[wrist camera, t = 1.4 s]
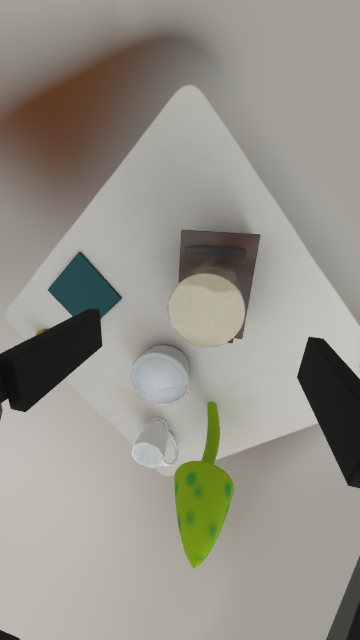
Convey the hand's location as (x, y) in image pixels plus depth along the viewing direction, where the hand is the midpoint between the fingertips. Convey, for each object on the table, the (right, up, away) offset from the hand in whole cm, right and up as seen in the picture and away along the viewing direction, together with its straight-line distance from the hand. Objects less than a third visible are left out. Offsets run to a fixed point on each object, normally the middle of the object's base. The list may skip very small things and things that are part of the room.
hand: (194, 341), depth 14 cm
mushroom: (+6, -16, +33) cm, 37 cm away
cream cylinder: (+3, +5, +14) cm, 15 cm away
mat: (-19, +6, +30) cm, 36 cm away
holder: (+5, +9, +23) cm, 25 cm away
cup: (-4, -24, +38) cm, 45 cm away
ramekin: (-3, -8, +32) cm, 33 cm away
